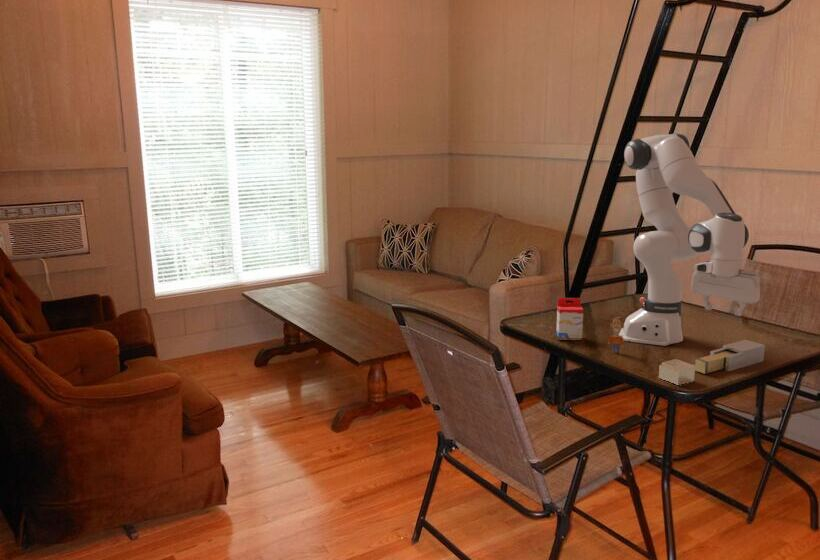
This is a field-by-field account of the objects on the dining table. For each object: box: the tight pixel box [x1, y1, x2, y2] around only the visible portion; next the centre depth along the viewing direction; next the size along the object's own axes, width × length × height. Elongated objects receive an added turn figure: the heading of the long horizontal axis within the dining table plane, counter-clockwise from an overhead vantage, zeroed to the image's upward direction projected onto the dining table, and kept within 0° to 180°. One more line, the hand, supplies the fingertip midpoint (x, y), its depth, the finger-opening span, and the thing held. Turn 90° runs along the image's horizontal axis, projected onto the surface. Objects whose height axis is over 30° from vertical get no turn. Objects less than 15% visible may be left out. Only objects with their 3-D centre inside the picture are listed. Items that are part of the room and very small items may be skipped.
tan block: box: [694, 350, 738, 375], centre depth 210 cm, size 22×4×4 cm, turn 119°
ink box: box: [555, 297, 584, 339], centre depth 240 cm, size 8×5×15 cm, turn 88°
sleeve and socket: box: [658, 339, 766, 386], centre depth 208 cm, size 40×7×5 cm, turn 119°
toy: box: [607, 316, 625, 354], centre depth 224 cm, size 5×3×13 cm, turn 59°
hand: (723, 312), depth 204 cm, fingers open, 8 cm apart
